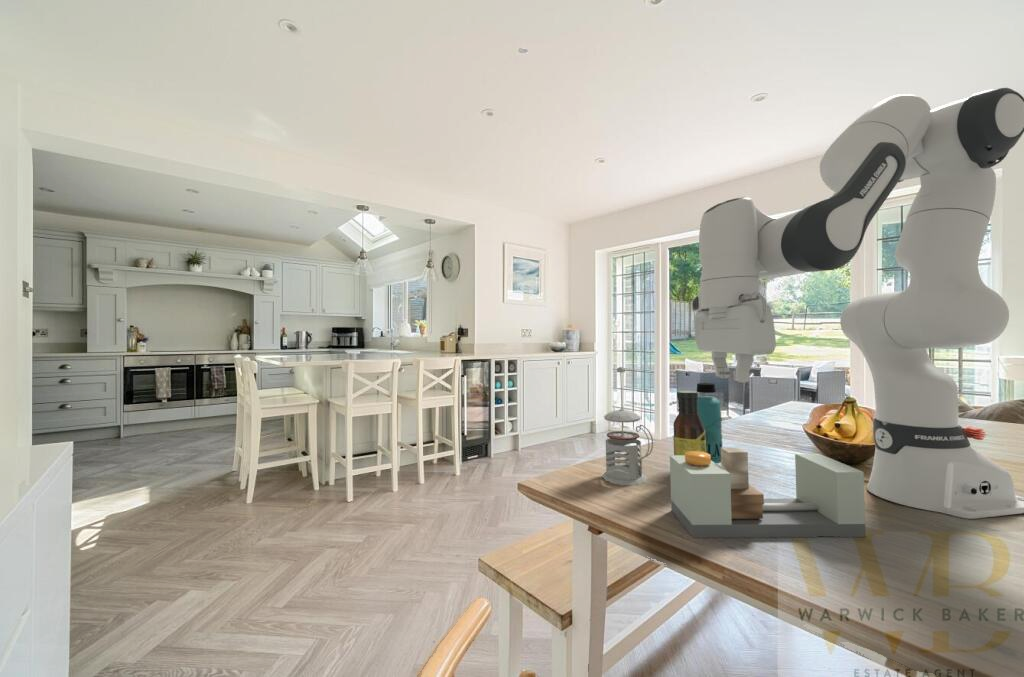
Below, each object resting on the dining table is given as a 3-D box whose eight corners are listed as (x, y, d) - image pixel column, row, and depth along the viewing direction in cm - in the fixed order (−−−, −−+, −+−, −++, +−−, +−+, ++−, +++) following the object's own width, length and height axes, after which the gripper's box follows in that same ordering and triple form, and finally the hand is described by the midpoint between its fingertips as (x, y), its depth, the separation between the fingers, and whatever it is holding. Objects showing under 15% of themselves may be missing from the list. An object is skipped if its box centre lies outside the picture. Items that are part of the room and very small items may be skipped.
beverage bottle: (697, 470, 95) (695, 384, 95) (690, 461, 102) (687, 381, 102) (727, 470, 94) (725, 384, 94) (718, 461, 101) (715, 381, 101)
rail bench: (819, 509, 73) (818, 453, 73) (865, 536, 63) (863, 472, 63) (671, 510, 74) (669, 455, 74) (692, 537, 64) (691, 474, 64)
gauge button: (705, 486, 71) (704, 450, 71) (715, 495, 67) (714, 457, 67) (682, 486, 71) (681, 451, 71) (691, 495, 67) (689, 458, 67)
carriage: (738, 499, 72) (737, 443, 72) (764, 519, 64) (762, 456, 64) (710, 499, 73) (708, 443, 73) (731, 519, 65) (729, 456, 65)
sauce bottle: (711, 492, 82) (708, 393, 82) (678, 491, 83) (675, 393, 83) (702, 481, 88) (700, 389, 88) (672, 480, 89) (669, 389, 89)
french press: (615, 467, 99) (612, 364, 99) (662, 478, 91) (659, 366, 91) (593, 478, 92) (590, 367, 92) (641, 491, 84) (638, 369, 84)
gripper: (787, 289, 58) (789, 386, 58) (721, 302, 78) (723, 373, 78) (741, 291, 58) (744, 388, 58) (687, 303, 79) (689, 374, 79)
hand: (731, 379), depth 69 cm, fingers open, 5 cm apart
